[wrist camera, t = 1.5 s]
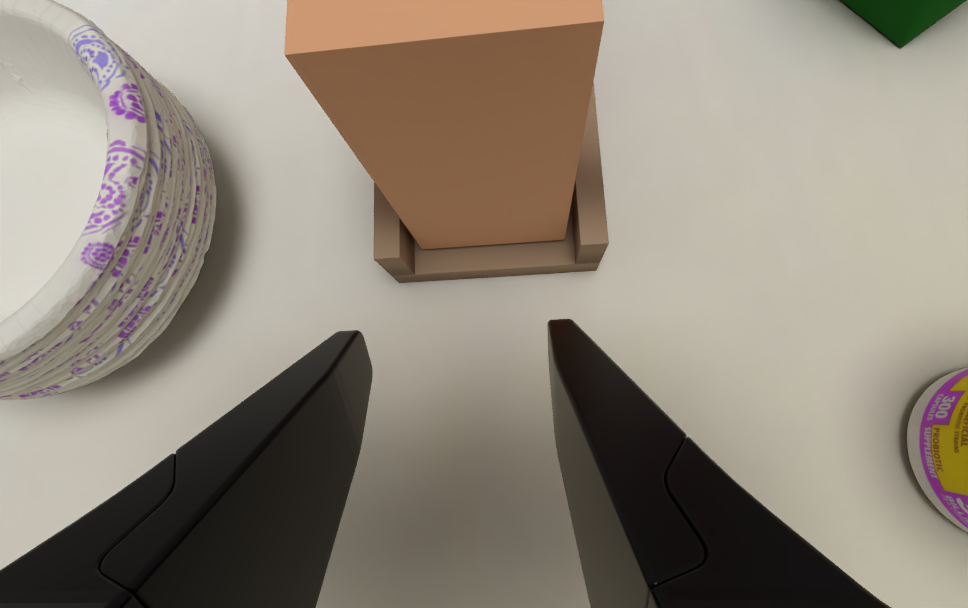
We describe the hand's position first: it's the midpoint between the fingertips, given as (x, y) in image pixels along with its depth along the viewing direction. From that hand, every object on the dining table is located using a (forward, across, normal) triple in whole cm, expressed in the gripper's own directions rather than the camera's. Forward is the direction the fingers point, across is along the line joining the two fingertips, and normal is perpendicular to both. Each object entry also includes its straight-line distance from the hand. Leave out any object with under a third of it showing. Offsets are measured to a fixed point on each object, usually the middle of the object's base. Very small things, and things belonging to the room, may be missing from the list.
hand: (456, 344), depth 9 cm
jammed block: (+14, 0, +2) cm, 14 cm away
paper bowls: (+14, +19, +4) cm, 24 cm away
